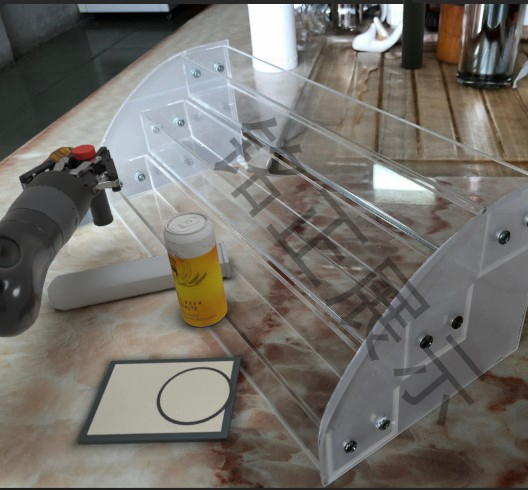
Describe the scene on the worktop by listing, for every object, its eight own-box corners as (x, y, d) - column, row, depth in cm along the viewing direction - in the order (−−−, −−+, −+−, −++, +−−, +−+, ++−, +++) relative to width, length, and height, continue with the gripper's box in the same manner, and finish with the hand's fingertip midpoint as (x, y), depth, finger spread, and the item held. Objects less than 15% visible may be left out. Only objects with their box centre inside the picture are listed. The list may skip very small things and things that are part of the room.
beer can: (174, 317, 81) (151, 223, 72) (210, 296, 84) (193, 204, 76) (200, 337, 77) (179, 241, 69) (237, 314, 81) (221, 220, 72)
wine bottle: (412, 72, 162) (417, -49, 145) (396, 68, 165) (400, -51, 149) (426, 67, 165) (432, -53, 148) (410, 63, 168) (415, -54, 152)
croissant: (50, 187, 115) (42, 163, 112) (29, 179, 118) (21, 156, 115) (106, 160, 124) (100, 137, 121) (86, 153, 127) (79, 131, 124)
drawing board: (79, 447, 64) (76, 440, 63) (113, 366, 74) (110, 359, 73) (228, 444, 63) (226, 436, 62) (241, 362, 73) (240, 355, 72)
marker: (90, 226, 89) (68, 153, 82) (97, 216, 91) (76, 144, 85) (110, 226, 89) (90, 153, 82) (116, 216, 91) (97, 144, 85)
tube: (41, 302, 78) (229, 263, 84) (41, 270, 82) (222, 234, 87) (54, 322, 83) (232, 284, 88) (54, 291, 86) (225, 256, 91)
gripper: (96, 184, 70) (135, 127, 85) (-20, 188, 71) (38, 130, 85) (111, 237, 75) (146, 174, 89) (1, 240, 75) (53, 176, 89)
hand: (93, 153), depth 87 cm, fingers closed on marker, 3 cm apart
